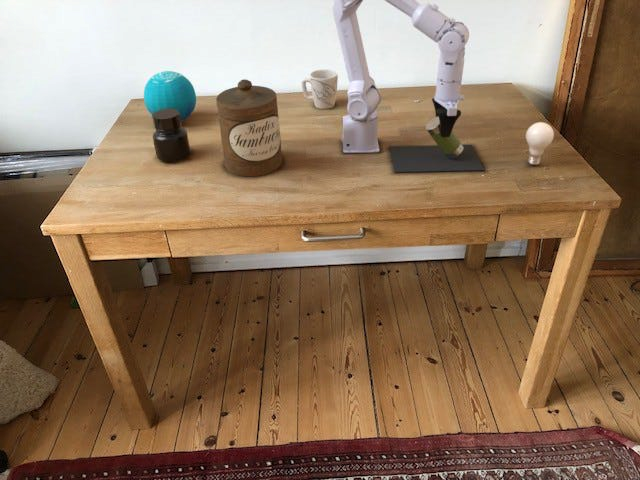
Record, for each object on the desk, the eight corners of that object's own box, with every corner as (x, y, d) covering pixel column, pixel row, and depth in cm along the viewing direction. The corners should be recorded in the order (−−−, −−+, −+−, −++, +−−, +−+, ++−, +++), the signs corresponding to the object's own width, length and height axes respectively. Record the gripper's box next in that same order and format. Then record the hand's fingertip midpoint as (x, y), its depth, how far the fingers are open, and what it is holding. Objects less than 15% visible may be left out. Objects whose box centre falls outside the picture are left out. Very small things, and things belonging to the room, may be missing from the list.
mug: (298, 108, 171) (296, 77, 165) (307, 98, 177) (305, 68, 171) (333, 111, 168) (333, 79, 162) (341, 101, 174) (340, 70, 169)
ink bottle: (180, 145, 152) (172, 103, 145) (198, 154, 147) (191, 112, 140) (149, 157, 147) (139, 114, 140) (167, 167, 141) (158, 124, 134)
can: (448, 161, 139) (427, 132, 134) (445, 152, 143) (424, 124, 138) (465, 150, 137) (444, 121, 132) (461, 142, 141) (440, 113, 136)
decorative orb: (176, 135, 157) (166, 84, 148) (138, 126, 163) (127, 76, 155) (210, 116, 168) (202, 68, 159) (173, 108, 174) (163, 61, 165)
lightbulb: (533, 172, 134) (542, 131, 127) (514, 162, 138) (522, 121, 132) (552, 166, 136) (562, 125, 130) (533, 156, 141) (542, 116, 134)
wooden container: (240, 182, 134) (228, 96, 121) (216, 159, 144) (203, 77, 131) (292, 166, 140) (287, 82, 127) (266, 145, 150) (258, 65, 137)
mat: (395, 173, 136) (395, 171, 135) (389, 147, 147) (389, 146, 147) (484, 171, 135) (484, 169, 135) (471, 145, 147) (471, 144, 146)
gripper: (473, 89, 123) (465, 144, 131) (460, 67, 134) (453, 119, 142) (441, 89, 123) (435, 144, 131) (431, 68, 135) (426, 120, 143)
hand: (443, 131), depth 137 cm, fingers closed on can, 5 cm apart
